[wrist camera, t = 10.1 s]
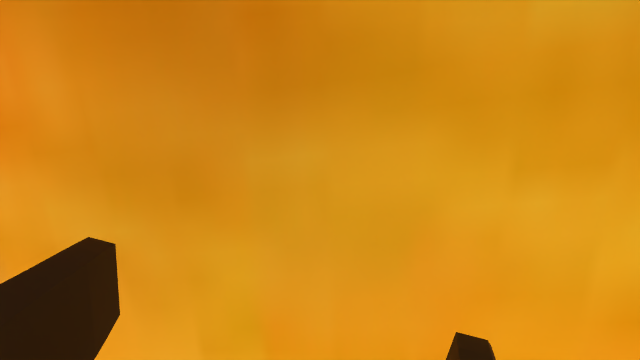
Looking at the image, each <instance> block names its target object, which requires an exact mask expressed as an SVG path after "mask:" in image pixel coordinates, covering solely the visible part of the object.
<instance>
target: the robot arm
mask: <svg viewBox="0 0 640 360" xmlns="http://www.w3.org/2000/svg"><path fill="white" fill-rule="evenodd" d="M119 315H120V309H119V293H118V278H117V263H116V248H115V244H113V243H109V242H106V241H102V240H98V239H94V238H90V237H88V238H86V239H84V240H82V241H80V242H78V243H76V244H74V245H72V246H70V247H69V248H67V249H65V250H63V251H61V252H59V253H57V254H56V255H54V256H52V257H50V258H48V259H46V260H45V261H43V262H41V263H39V264H37V265H35V266H34V267H32V268H30V269H28V270H26V271H24V272H22V273H20V274H19V275H17V276H15V277H13V278H11V279H9V280H7V281H5V282H3V283H2V284H0V360H94V359H95V357H96V356H97V354H98V352H99V351H100V349H101V347H102V346H103V344H104V342H105V341H106V339H107V337H108V335H109V333H110V332H111V330H112V328H113V326H114V324H115V322H116V321H117V319H118V317H119ZM446 360H496V359H495V356H494V353H493V350H492V347H491V345H490V343H489V342H488V340H485V339H481V338H477V337H473V336H469V335H465V334H462V333H458V332H456V334H455V336H454V339H453V342H452V345H451V347H450V350H449V353H448V355H447V358H446Z"/></svg>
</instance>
